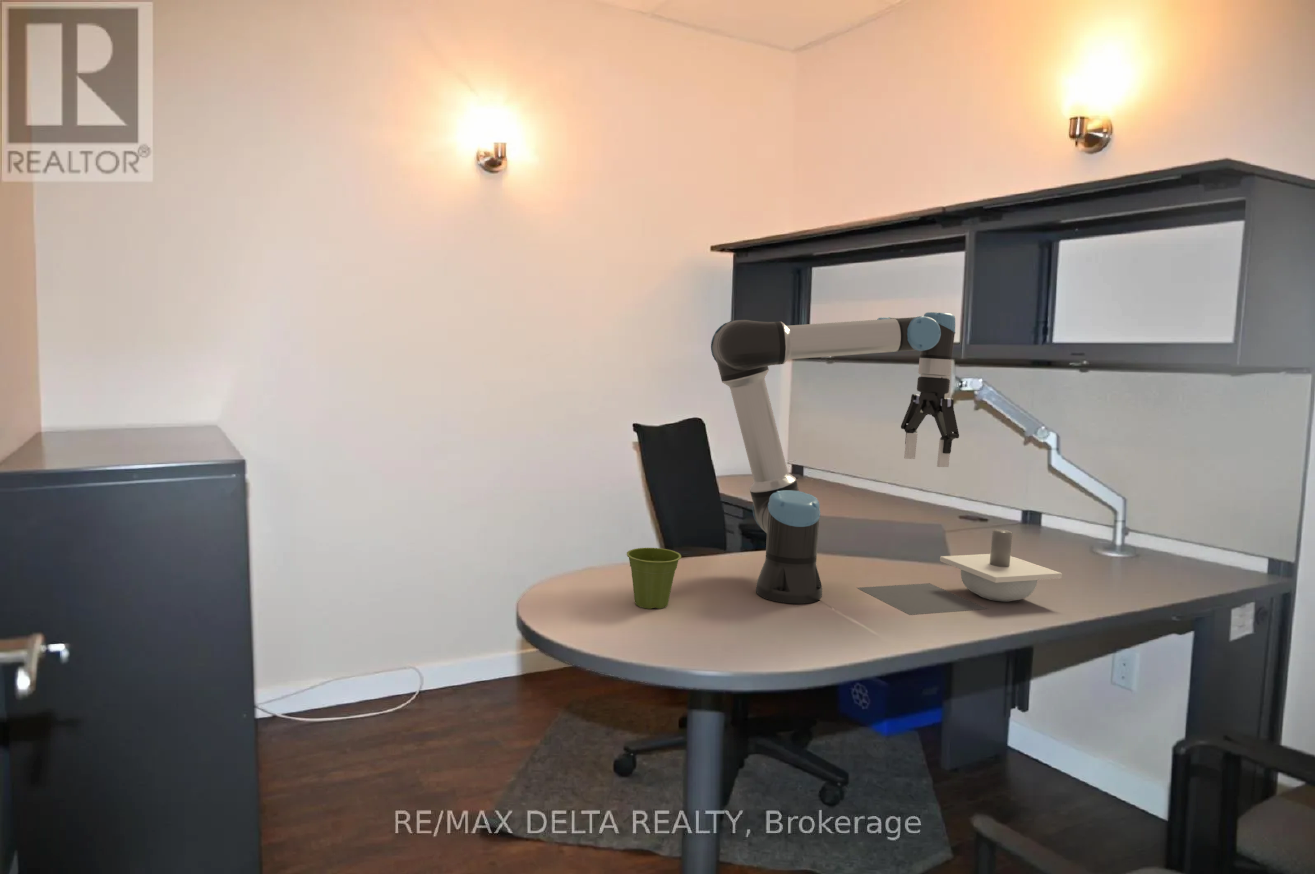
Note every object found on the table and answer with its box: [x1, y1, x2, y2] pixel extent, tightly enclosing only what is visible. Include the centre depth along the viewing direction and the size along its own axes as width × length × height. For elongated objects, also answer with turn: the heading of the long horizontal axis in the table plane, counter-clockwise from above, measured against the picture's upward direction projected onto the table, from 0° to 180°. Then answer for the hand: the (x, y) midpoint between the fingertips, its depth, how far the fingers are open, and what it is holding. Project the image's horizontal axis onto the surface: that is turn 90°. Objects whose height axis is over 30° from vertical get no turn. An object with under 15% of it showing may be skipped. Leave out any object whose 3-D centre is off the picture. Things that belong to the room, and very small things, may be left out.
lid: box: [939, 528, 1063, 583], centre depth 203 cm, size 19×19×9 cm
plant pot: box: [626, 547, 682, 610], centre depth 186 cm, size 12×12×11 cm
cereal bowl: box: [960, 569, 1038, 602], centre depth 204 cm, size 17×17×7 cm
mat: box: [857, 582, 988, 616], centre depth 200 cm, size 21×21×1 cm
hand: (925, 462), depth 212 cm, fingers open, 13 cm apart
